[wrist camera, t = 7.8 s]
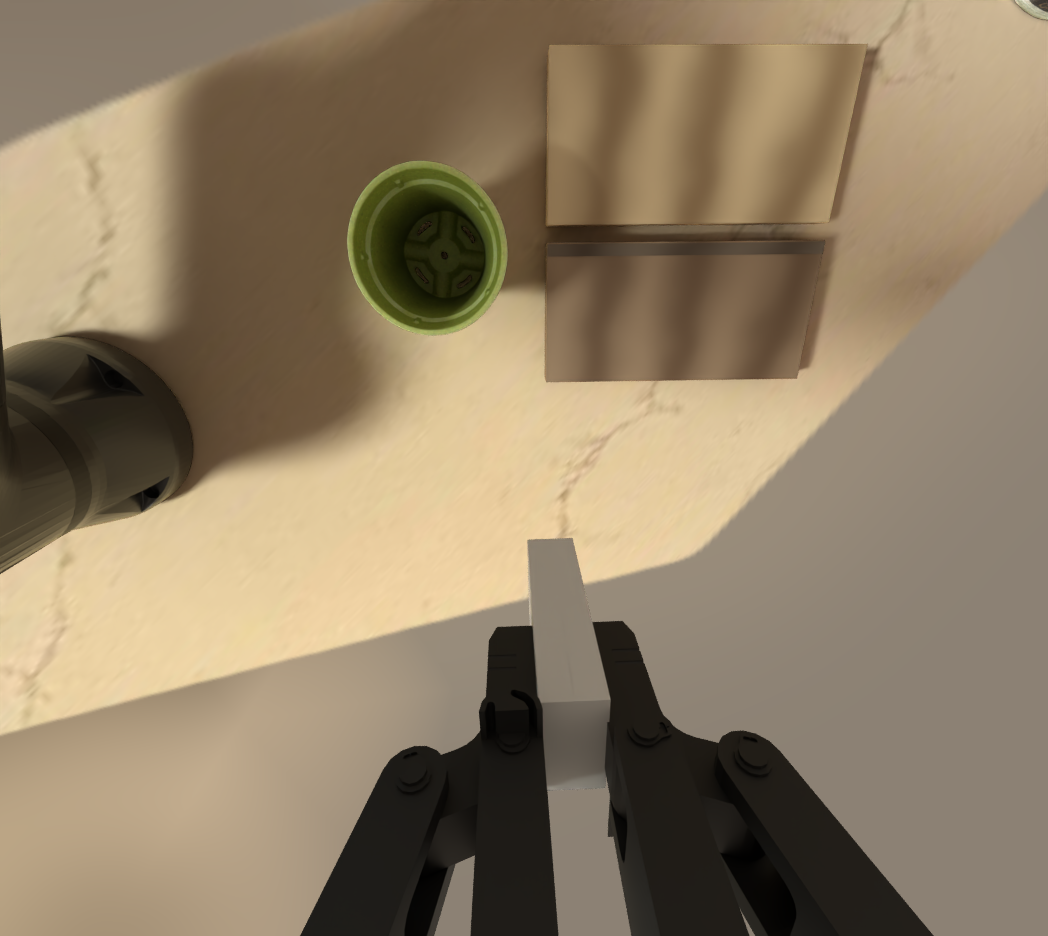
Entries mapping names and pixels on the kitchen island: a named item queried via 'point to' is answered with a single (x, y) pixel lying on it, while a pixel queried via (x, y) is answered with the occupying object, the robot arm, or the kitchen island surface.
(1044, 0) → the coffee can
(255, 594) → the kitchen island surface
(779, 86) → the oak plank
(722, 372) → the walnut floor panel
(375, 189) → the plant pot
